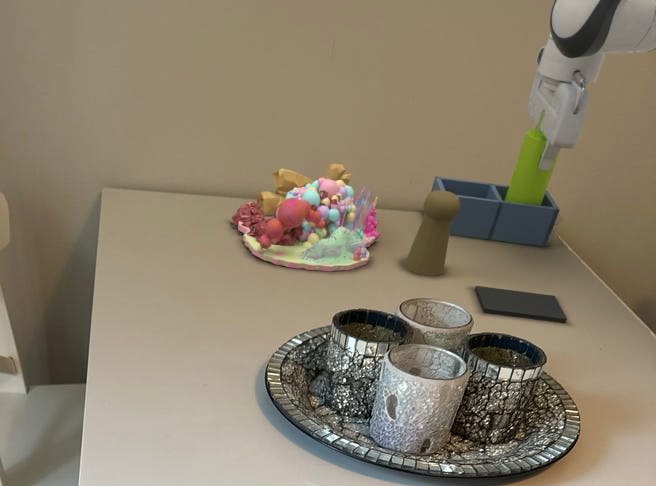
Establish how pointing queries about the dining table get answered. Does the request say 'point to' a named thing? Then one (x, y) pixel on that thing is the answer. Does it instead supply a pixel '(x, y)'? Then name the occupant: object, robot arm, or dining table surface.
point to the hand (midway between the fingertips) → (538, 162)
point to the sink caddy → (498, 213)
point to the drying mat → (520, 304)
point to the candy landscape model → (310, 222)
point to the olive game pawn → (433, 234)
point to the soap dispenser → (530, 170)
